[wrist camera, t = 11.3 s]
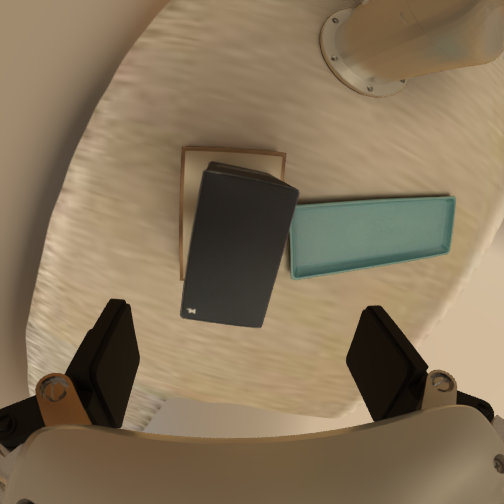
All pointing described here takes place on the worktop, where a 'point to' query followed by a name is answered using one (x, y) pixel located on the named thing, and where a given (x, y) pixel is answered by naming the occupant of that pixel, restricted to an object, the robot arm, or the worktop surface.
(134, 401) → the worktop surface
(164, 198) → the worktop surface
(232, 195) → the small box
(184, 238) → the brown rectangular tray
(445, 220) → the shallow long dish
